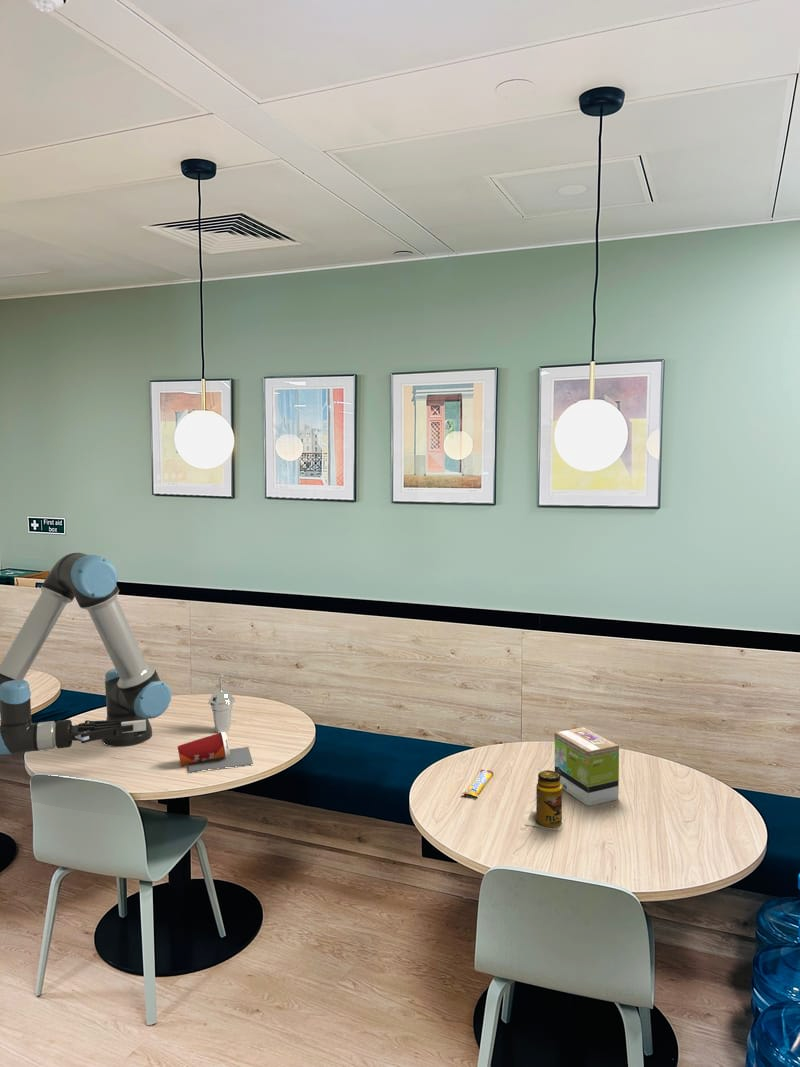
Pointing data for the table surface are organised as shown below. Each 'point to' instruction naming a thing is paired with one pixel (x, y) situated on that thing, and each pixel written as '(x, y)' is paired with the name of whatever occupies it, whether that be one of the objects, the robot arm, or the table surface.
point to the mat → (224, 761)
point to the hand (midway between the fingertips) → (145, 725)
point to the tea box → (587, 765)
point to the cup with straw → (222, 706)
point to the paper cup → (204, 749)
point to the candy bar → (479, 783)
